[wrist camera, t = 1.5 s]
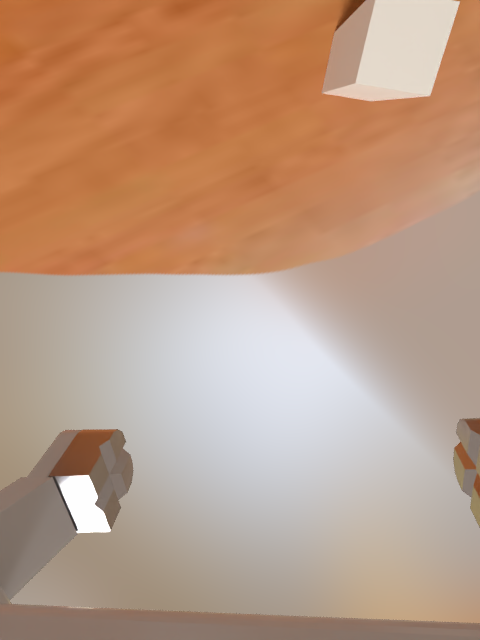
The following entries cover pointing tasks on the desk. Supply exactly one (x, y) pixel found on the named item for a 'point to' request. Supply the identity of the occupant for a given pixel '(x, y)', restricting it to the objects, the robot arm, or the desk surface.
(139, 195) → the desk surface
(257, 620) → the robot arm
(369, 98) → the cream column
